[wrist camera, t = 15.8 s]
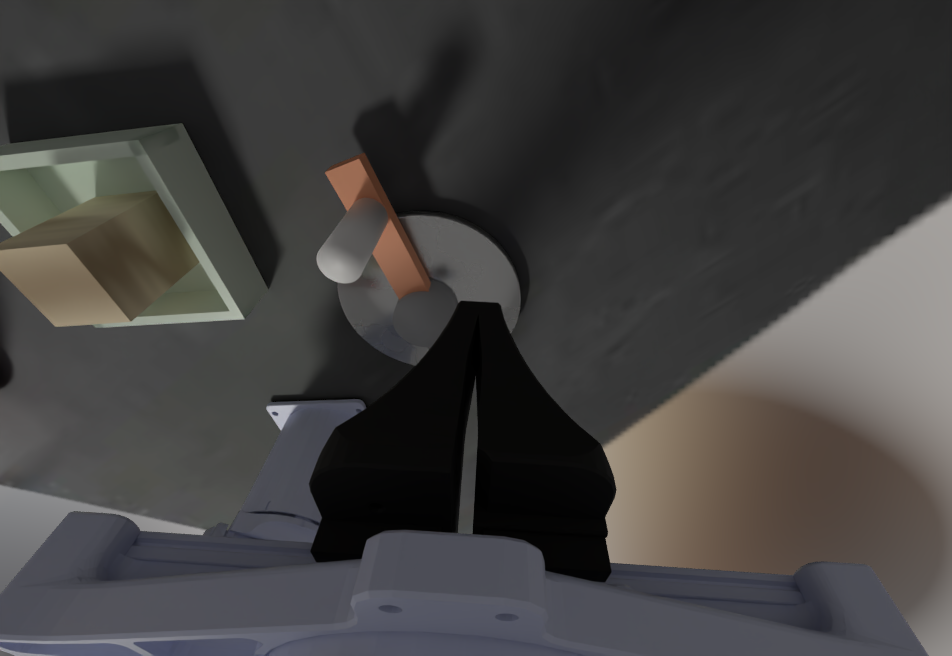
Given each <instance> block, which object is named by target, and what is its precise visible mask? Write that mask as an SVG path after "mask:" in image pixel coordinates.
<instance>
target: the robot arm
mask: <svg viewBox="0 0 952 656" xmlns="http://www.w3.org/2000/svg"><path fill="white" fill-rule="evenodd" d="M475 376H476V390H477V416H478V447H477V465H476V483H475V502H474V519H473V534H461V533H458V520H459V507H460V493H461V480H462V467H463V454H464V442H465V434H466V427H467V421H468V416H469V410H470V405H471V399H472V393H473V388H474V382H475ZM266 409H267V410H268V412H269V413H270V415H271V416H272V418H273V419H274V421H275V422H276V424H277V425H278V427H279V428H280V430H281V432H280V434H279V436H278V438H277V440H276V442H275V444H274V446H273V448H272V450H271V452H270V453H269V455H268V457H267V459H266V461H265V463H264V465H263V467H262V469H261V471H260V473H259V475H258V477H257V479H256V481H255V483H254V485H253V486H252V488H251V490H250V492H249V494H248V496H247V498H246V500H245V502H244V504H243V506H242V508H241V510H240V511H239V512H238V514H237V516H236V517H235V519H234V521H233V523H232V524H231V526H230V528H229V529H228V531H227V530H226V529H227V527H228V524H225V523H218V524H217V525H216V527H212V528H210V529H207V530H206V531H205V532H204V534H203V535H191V534H175V533H161V532H147V531H140V529H139V528H138V527H137V525H136V524H135V523H134V522H133V521H131V520H130V519H128V518H126V517H124V516H121V515H116V514H107V513H92V512H78V511H74V512H70V513H69V514H68V515H67V516H66V517H65V518H64V519H63V521H62V522H61V523H60V524H59V526H58V527H57V528H56V529H55V530H54V531H53V532H52V534H51V535H50V536H49V537H48V538H47V540H46V541H45V542H44V543H43V544H42V545H41V547H40V548H39V549H38V550H37V551H36V553H35V554H34V555H33V556H32V558H31V559H30V560H29V561H28V562H27V563H26V564H25V566H24V567H23V568H22V569H21V570H20V572H19V573H18V574H17V575H16V576H15V577H14V579H13V580H12V581H11V582H10V583H9V585H8V586H7V587H6V588H5V589H4V591H2V593H1V594H0V650H2V651H4V652H7V653H10V654H13V655H15V656H928V654H927V653H926V651H925V650H924V648H923V646H922V645H921V643H920V642H919V640H918V639H917V637H916V636H915V634H914V633H913V631H912V630H911V628H910V626H909V625H908V623H907V622H906V620H905V619H904V617H903V616H902V614H901V613H900V611H899V610H898V608H897V606H896V605H895V603H894V602H893V600H892V599H891V597H890V596H889V594H888V592H887V591H886V589H885V588H884V586H883V585H882V583H881V582H880V580H879V579H878V577H877V576H876V574H875V573H874V571H873V569H872V568H871V567H870V566H868V565H865V564H852V563H838V562H813V563H808V564H806V565H804V566H802V567H800V568H799V569H798V570H797V571H796V572H795V574H794V575H778V574H765V573H751V572H750V573H749V572H736V571H721V570H706V569H692V568H677V567H662V566H648V565H647V566H646V565H633V564H618V563H610V560H609V555H608V550H607V545H606V539H605V538H606V537H607V535H608V530H607V525H606V520H605V516H606V514H607V512H608V510H609V508H610V506H611V504H612V502H613V500H614V498H615V494H616V486H615V480H614V476H613V473H612V470H611V468H610V465H609V462H608V460H607V457H606V455H605V453H604V450H603V448H602V446H601V444H600V443H599V442H598V441H597V440H595V439H594V438H593V437H592V436H591V435H589V434H588V433H587V432H586V431H585V430H583V429H582V428H581V427H580V426H579V425H577V424H576V423H575V422H574V421H573V420H572V419H571V418H570V417H569V416H568V415H567V414H566V413H565V412H564V411H563V410H562V409H561V407H560V406H559V405H558V404H557V403H556V402H555V401H554V400H553V399H552V398H551V396H550V395H549V394H548V393H547V392H546V390H545V389H544V388H543V387H542V385H541V384H540V383H539V381H538V380H537V379H536V377H535V376H534V374H533V373H532V372H531V370H530V369H529V367H528V365H527V364H526V362H525V361H524V359H523V357H522V355H521V354H520V352H519V350H518V348H517V346H516V344H515V342H514V340H513V338H512V336H511V334H510V332H509V329H508V327H507V324H506V322H505V319H504V316H503V312H502V308H501V305H500V304H499V303H496V302H478V301H460V302H459V303H458V304H457V307H456V309H455V311H454V313H453V315H452V317H451V319H450V320H449V322H448V324H447V325H446V327H445V328H444V330H443V331H442V333H441V334H440V336H439V337H438V339H437V340H436V341H435V343H434V344H433V345H432V347H431V348H430V349H429V350H428V352H427V353H426V354H425V356H424V357H423V358H422V359H421V360H420V361H419V362H418V364H417V365H416V366H415V367H414V368H413V369H412V370H411V371H410V372H409V373H408V374H407V375H406V376H405V377H404V378H403V379H402V380H401V381H399V382H398V383H397V384H396V385H395V386H394V387H393V388H392V389H390V390H389V391H388V392H387V393H386V394H384V395H383V396H382V397H380V398H379V399H378V400H376V401H375V402H374V403H372V404H371V405H370V406H369V407H367V408H366V406H365V403H364V402H363V401H362V400H359V399H347V400H318V401H289V402H270V403H268V405H267V407H266Z"/></svg>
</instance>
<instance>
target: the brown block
mask: <svg viewBox="0 0 952 656" xmlns="http://www.w3.org/2000/svg"><path fill="white" fill-rule="evenodd" d="M198 263H199V260H198V258H197V257H196V255H195V254H194V252H193V250H192V249H191V247H190V245H189V244H188V242H187V240H186V239H185V237H184V236H183V234H182V232H181V231H180V229H179V227H178V226H177V224H176V223H175V221H174V219H173V218H172V216H171V214H170V213H169V211H168V209H167V208H166V206H165V205H164V203H163V201H162V200H161V198H160V196H159V195H158V193H157V192H156V191H147V192H138V193H128V194H119V195H110V196H101V197H94V198H92V199H90V200H88V201H86V202H84V203H82V204H80V205H78V206H76V207H74V208H72V209H70V210H67V211H65V212H63V213H61V214H59V215H57V216H55V217H53V218H51V219H49V220H47V221H45V222H43V223H41V224H38V225H36V226H34V227H32V228H30V229H28V230H26V231H24V232H22V233H20V234H18V235H16V236H14V237H12V238H9V239H7V240H5V241H3V242H1V243H0V271H1V272H2V273H3V274H4V275H5V276H6V277H7V278H8V279H9V280H10V281H11V282H12V283H13V284H14V285H15V286H16V287H17V288H18V289H19V290H20V291H21V292H22V293H23V294H24V295H25V296H26V297H27V298H28V299H29V300H30V301H31V302H32V303H33V304H34V305H35V306H36V307H37V308H38V309H39V310H40V311H41V313H42V314H43V315H44V316H45V317H46V318H47V319H48V320H49V321H50V322H51V323H52V324H53V325H54V326H55V327H61V326H76V325H91V324H106V323H121V322H131V321H132V320H134V319H135V318H136V317H137V316H138V315H139V314H140V313H142V312H143V311H144V310H145V309H146V308H147V307H149V306H150V305H151V304H152V303H153V302H154V301H156V300H157V299H158V298H159V297H160V296H161V295H162V294H164V293H165V292H166V291H167V290H168V289H169V288H171V287H172V286H173V285H174V284H175V283H176V282H178V281H179V280H180V279H181V278H182V277H183V276H184V275H186V274H187V273H188V272H189V271H190V270H191V269H193V268H194V267H195V266H196V265H197V264H198Z"/></svg>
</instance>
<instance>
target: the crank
mask: <svg viewBox="0 0 952 656" xmlns="http://www.w3.org/2000/svg"><path fill="white" fill-rule="evenodd" d="M325 174H326V175H327V177H328V179H329V180H330V182H331V184H332V186H333V187H334V189H335V191H336V192H337V194H338V196H339V197H340V199H341V201H342V203H343V204H344V206H345V208H346V209H347V211H348V212H347V213H346V214H345V216H344V217H343V219H342V220H341V221H340V223H339V224H338V225H337V227H336V228H335V229H334V231H333V232H332V233H331V235H330V236H329V238H328V239H327V240H326V242H325V243H324V244H323V246H322V247H321V248H320V250H319V251H318V254H317V264H318V267H319V269H320V270H321V272H322V273H323V274H324V275H325V276H326V277H328V278H329V279H331V280H333V281H335V282H338V283H351V282H354V281H356V280H357V279H358V278H359V277H360V276H361V274H362V272H363V270H364V268H365V266H366V264H367V262H368V260H369V258H370V257H371V255H372V254H373V256H374V257H375V259H376V261H377V262H378V264H379V266H380V268H381V269H382V271H383V273H384V274H385V276H386V278H387V280H388V281H389V283H390V285H391V286H392V288H393V290H394V292H395V293H396V295H397V297H398V298H399V299H398V302H397V304H396V307H395V310H394V313H393V318H392V322H393V326H394V328H395V330H396V332H397V333H398V335H399V336H400V337H401V338H403V339H404V340H405V341H407V342H409V343H410V344H413V345H416V346H420V347H432V345H433V344H434V343H435V341H436V340H437V339H438V337H439V336H440V334H441V333H442V331H443V330H444V328H445V327H446V325H447V324H448V322H449V320H450V319H451V317H452V315H453V313H454V311H455V309H456V307H457V304H458V300H457V297H456V296H455V294H454V293H453V291H452V290H451V289H450V288H448V287H447V286H446V285H444V284H442V283H440V282H437V281H434V280H429V278H428V276H427V274H426V272H425V270H424V268H423V266H422V264H421V262H420V260H419V258H418V257H417V255H416V253H415V251H414V249H413V247H412V245H411V243H410V241H409V239H408V237H407V235H406V233H405V231H404V229H403V227H402V225H401V223H400V221H399V219H398V217H397V215H396V213H395V211H394V210H393V208H392V206H391V204H390V202H389V200H388V198H387V196H386V194H385V192H384V190H383V188H382V186H381V184H380V182H379V180H378V178H377V176H376V174H375V172H374V170H373V168H372V166H371V165H370V163H369V161H368V159H367V157H366V155H365V153H362V154H360V155H358V156H355V157H353V158H350V159H348V160H345V161H343V162H340V163H338V164H335V165H333V166H331V167H330V168H329V169H328V170H327V171H326V172H325Z"/></svg>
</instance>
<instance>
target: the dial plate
mask: <svg viewBox="0 0 952 656" xmlns="http://www.w3.org/2000/svg"><path fill="white" fill-rule="evenodd" d="M396 215H397V217H398V219H399V221H400V223H401V225H402V227H403V229H404V231H405V233H406V235H407V237H408V239H409V241H410V243H411V245H412V247H413V249H414V251H415V253H416V255H417V257H418V258H419V260H420V262H421V264H422V266H423V268H424V270H425V272H426V274H427V276H428V278H429V280H434V281H437V282H440V283H442V284H444V285H446V286H447V287H448V288H450V289H451V290H452V291H453V293H454V294H455V296H456V297H457V300H458V303H459V302H460V301H478V302H496V303H499V304H500V305H501V308H502V312H503V316H504V319H505V322H506V324H507V327H508V329H509V332H510V334H511V333H512V331H513V329H514V327H515V325H516V322H517V320H518V317H519V312H520V303H521V295H520V284H519V278H518V275H517V272H516V269H515V267H514V264H513V262H512V260H511V258H510V257H509V255H508V254H507V252H506V251H505V249H504V248H503V247H502V246H501V245H500V244H499V243H498V241H497V240H495V239H494V238H493V237H492V236H491V235H490V234H489V233H487V232H486V231H484V230H483V229H482V228H480V227H479V226H477V225H475V224H473V223H471V222H469V221H467V220H465V219H463V218H460V217H457V216H454V215H451V214H447V213H442V212H437V211H427V210H421V211H407V212H401V213H397V214H396ZM338 295H339V300H340V303H341V306H342V309H343V311H344V313H345V316H346V318H347V319H348V321H349V322H350V324H351V325H352V327H353V328H354V329H355V330H356V332H357V333H358V334H359V335H360V336H361V337H362V338H363V339H364V340H365V341H366V342H368V343H369V344H370V345H371V346H373V347H374V348H375V349H377V350H379V351H380V352H382V353H383V354H385V355H387V356H389V357H391V358H394V359H396V360H399V361H401V362H404V363H408V364H411V365H417V364H418V362H419V361H420V360H421V359H422V358H423V357H424V356H425V354H426V353H427V352H428V350H429V349H430V348H431V347H420V346H416V345H413V344H410V343H409V342H407V341H405V340H404V339H403V338H401V337H400V336H399V335H398V333H397V332H396V330H395V328H394V326H393V322H392V318H393V313H394V310H395V307H396V304H397V302H398V299H399V298H398V297H397V295H396V293H395V292H394V290H393V288H392V286H391V285H390V283H389V281H388V280H387V278H386V276H385V274H384V273H383V271H382V269H381V268H380V266H379V264H378V262H377V261H376V259H375V257H374V256H373V254H372V255H371V257H370V258H369V260H368V262H367V264H366V266H365V268H364V270H363V272H362V274H361V276H360V277H359V278H358V279H357V280H356V281H354V282H351V283H338Z"/></svg>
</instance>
